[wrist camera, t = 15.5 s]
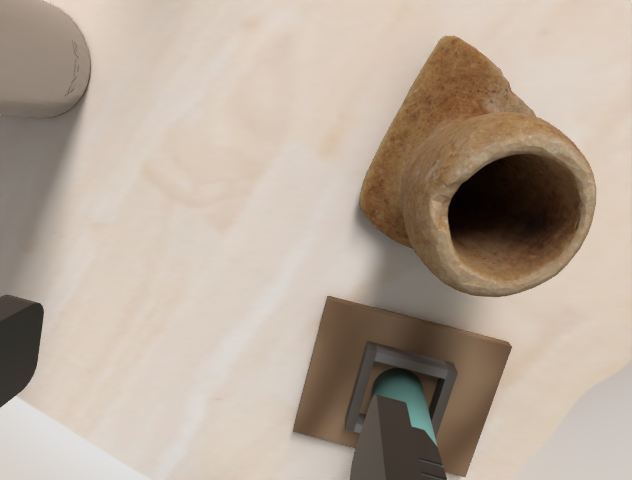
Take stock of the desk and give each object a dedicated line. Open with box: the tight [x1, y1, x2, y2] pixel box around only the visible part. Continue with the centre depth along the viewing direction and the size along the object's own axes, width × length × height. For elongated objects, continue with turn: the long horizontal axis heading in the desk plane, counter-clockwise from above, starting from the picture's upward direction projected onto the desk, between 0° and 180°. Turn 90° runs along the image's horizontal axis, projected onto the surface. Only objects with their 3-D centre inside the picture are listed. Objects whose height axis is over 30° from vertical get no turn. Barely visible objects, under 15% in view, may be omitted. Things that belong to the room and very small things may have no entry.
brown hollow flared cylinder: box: [359, 36, 596, 297], centre depth 31 cm, size 15×12×15 cm
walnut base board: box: [293, 296, 512, 477], centre depth 41 cm, size 16×13×3 cm
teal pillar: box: [372, 368, 443, 467], centre depth 35 cm, size 4×4×14 cm
